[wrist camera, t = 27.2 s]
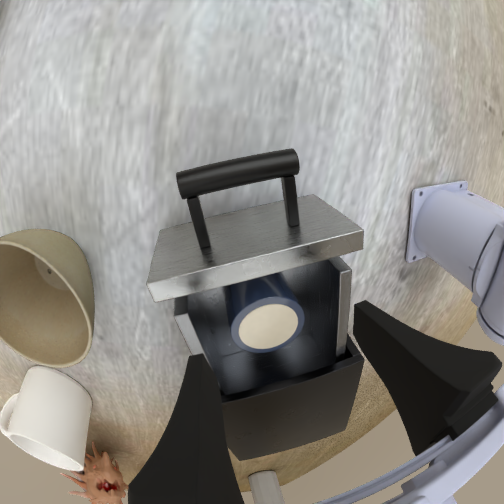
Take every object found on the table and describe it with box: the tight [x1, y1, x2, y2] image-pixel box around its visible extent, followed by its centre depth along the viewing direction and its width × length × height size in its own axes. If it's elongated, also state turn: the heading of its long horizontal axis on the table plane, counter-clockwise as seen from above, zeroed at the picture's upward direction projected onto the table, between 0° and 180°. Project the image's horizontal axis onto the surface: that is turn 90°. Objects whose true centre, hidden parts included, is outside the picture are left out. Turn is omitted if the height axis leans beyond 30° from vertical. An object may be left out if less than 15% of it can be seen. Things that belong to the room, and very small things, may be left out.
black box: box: [221, 333, 364, 461], centre depth 24 cm, size 14×12×8 cm
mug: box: [0, 366, 92, 471], centre depth 20 cm, size 13×10×10 cm
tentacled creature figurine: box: [60, 441, 128, 504], centre depth 27 cm, size 13×15×25 cm
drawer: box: [147, 149, 364, 396], centre depth 18 cm, size 18×11×7 cm, turn 10°
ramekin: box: [222, 272, 305, 353], centre depth 18 cm, size 5×5×5 cm
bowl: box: [0, 229, 95, 368], centre depth 15 cm, size 10×10×7 cm
